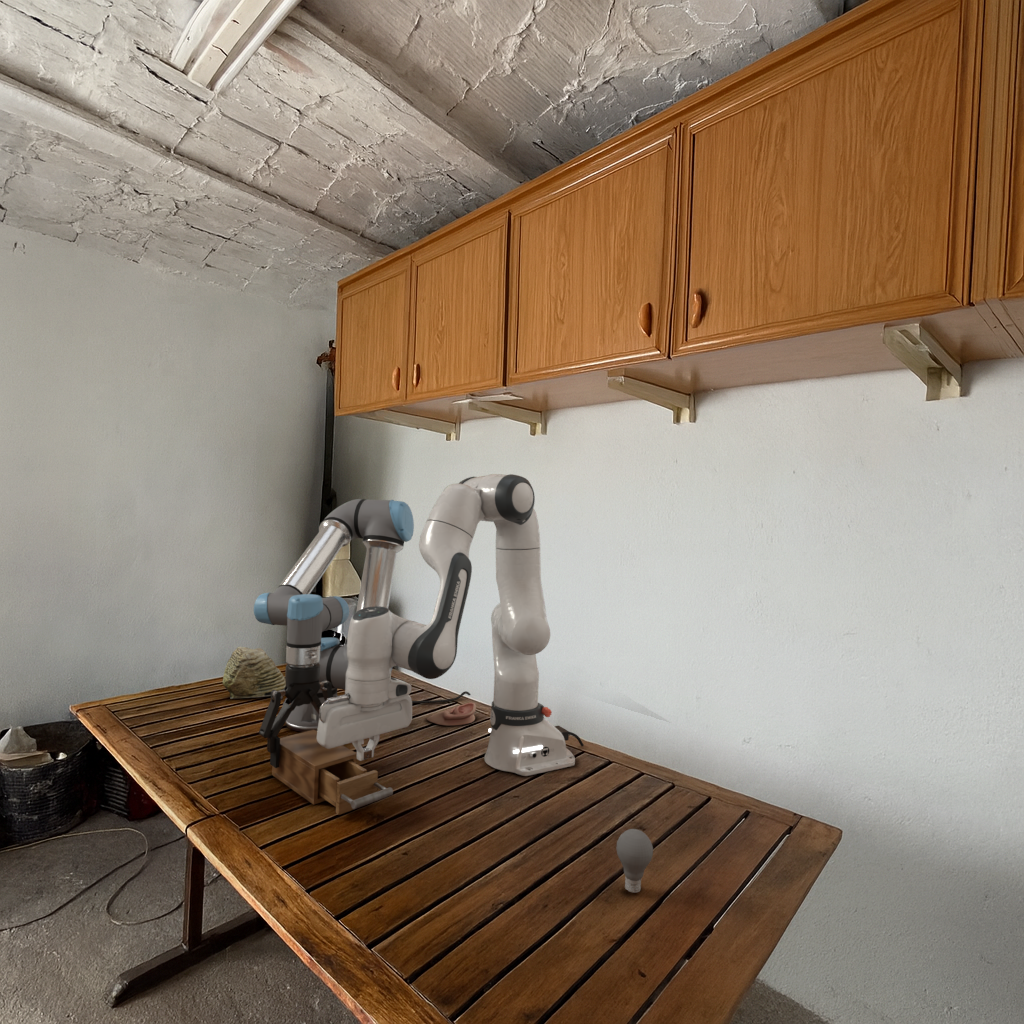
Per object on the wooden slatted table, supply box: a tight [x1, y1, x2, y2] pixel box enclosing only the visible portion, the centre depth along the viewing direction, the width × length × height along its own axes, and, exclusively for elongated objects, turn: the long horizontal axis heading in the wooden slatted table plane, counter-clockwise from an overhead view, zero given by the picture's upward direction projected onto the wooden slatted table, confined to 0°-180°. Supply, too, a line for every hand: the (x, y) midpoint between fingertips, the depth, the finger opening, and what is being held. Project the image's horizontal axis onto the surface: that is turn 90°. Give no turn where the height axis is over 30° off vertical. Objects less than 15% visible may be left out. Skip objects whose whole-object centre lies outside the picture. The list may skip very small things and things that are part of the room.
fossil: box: [222, 646, 286, 699], centre depth 198 cm, size 9×18×15 cm, turn 132°
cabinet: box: [271, 730, 358, 806], centre depth 140 cm, size 19×10×8 cm, turn 46°
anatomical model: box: [426, 702, 477, 726], centre depth 183 cm, size 13×4×12 cm
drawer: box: [318, 760, 394, 816], centre depth 132 cm, size 23×9×6 cm, turn 47°
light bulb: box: [615, 828, 654, 894], centre depth 106 cm, size 6×6×10 cm
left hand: (299, 758), depth 145 cm, fingers open, 11 cm apart
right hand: (365, 758), depth 126 cm, fingers closed
